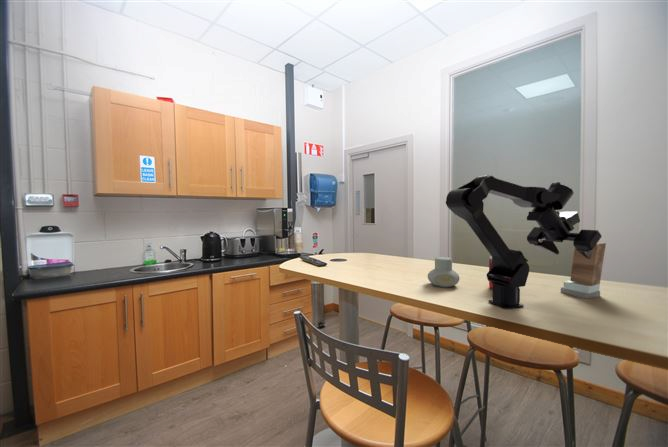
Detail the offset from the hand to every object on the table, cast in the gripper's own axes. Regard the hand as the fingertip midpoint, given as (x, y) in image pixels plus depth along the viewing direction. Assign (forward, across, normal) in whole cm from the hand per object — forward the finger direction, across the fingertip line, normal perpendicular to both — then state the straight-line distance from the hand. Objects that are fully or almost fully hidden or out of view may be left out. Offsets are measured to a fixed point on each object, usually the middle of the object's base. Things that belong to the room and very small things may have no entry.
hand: (573, 255), depth 92 cm
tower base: (+12, 0, +7) cm, 14 cm away
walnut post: (+9, -1, +3) cm, 9 cm away
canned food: (-1, +13, +19) cm, 23 cm away
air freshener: (-11, +24, +30) cm, 41 cm away
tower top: (+10, 0, +5) cm, 12 cm away
